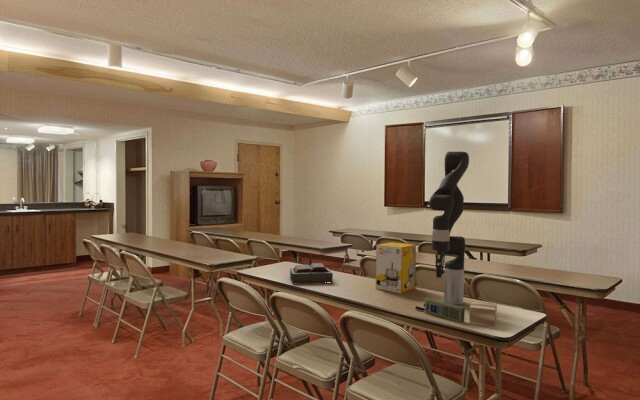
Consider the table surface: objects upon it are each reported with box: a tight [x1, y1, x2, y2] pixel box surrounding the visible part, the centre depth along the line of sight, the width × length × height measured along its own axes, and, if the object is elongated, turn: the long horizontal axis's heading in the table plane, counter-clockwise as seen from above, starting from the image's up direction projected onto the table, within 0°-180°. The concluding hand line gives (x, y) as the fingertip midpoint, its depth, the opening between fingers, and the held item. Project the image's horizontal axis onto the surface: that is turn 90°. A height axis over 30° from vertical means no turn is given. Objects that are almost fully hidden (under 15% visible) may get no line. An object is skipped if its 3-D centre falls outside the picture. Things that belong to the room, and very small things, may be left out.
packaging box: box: [375, 241, 417, 294], centre depth 254 cm, size 16×16×25 cm
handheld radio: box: [415, 297, 466, 324], centre depth 202 cm, size 7×3×25 cm
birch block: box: [468, 300, 498, 327], centre depth 194 cm, size 12×10×7 cm
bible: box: [289, 262, 334, 284], centre depth 273 cm, size 23×27×10 cm
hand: (439, 275), depth 201 cm, fingers open, 8 cm apart
